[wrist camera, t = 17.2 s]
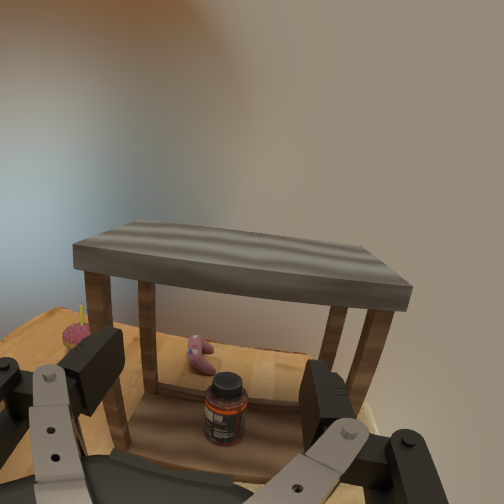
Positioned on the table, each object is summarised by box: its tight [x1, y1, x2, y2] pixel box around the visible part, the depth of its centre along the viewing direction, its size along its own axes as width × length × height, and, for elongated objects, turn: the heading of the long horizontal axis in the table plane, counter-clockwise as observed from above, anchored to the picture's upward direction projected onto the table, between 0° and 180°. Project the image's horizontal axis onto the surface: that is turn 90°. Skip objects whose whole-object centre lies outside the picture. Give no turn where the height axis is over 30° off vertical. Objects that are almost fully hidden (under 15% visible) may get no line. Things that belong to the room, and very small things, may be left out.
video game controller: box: [187, 335, 216, 375], centre depth 61 cm, size 10×5×7 cm, turn 9°
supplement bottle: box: [204, 372, 248, 446], centre depth 39 cm, size 6×6×11 cm
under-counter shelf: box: [73, 220, 413, 484], centre depth 37 cm, size 17×32×32 cm, turn 87°
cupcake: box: [63, 302, 90, 350], centre depth 54 cm, size 9×8×12 cm
